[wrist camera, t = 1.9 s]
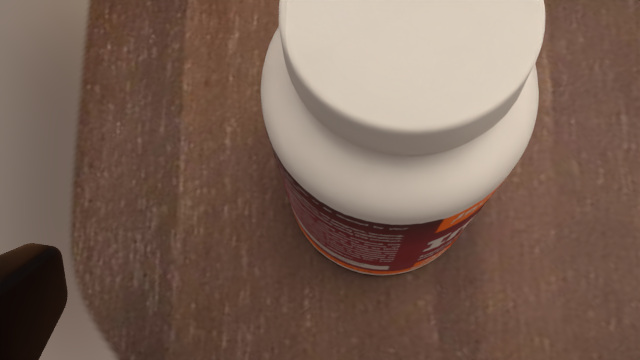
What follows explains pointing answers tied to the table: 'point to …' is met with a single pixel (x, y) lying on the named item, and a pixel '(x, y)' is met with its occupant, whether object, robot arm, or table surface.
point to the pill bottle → (398, 119)
